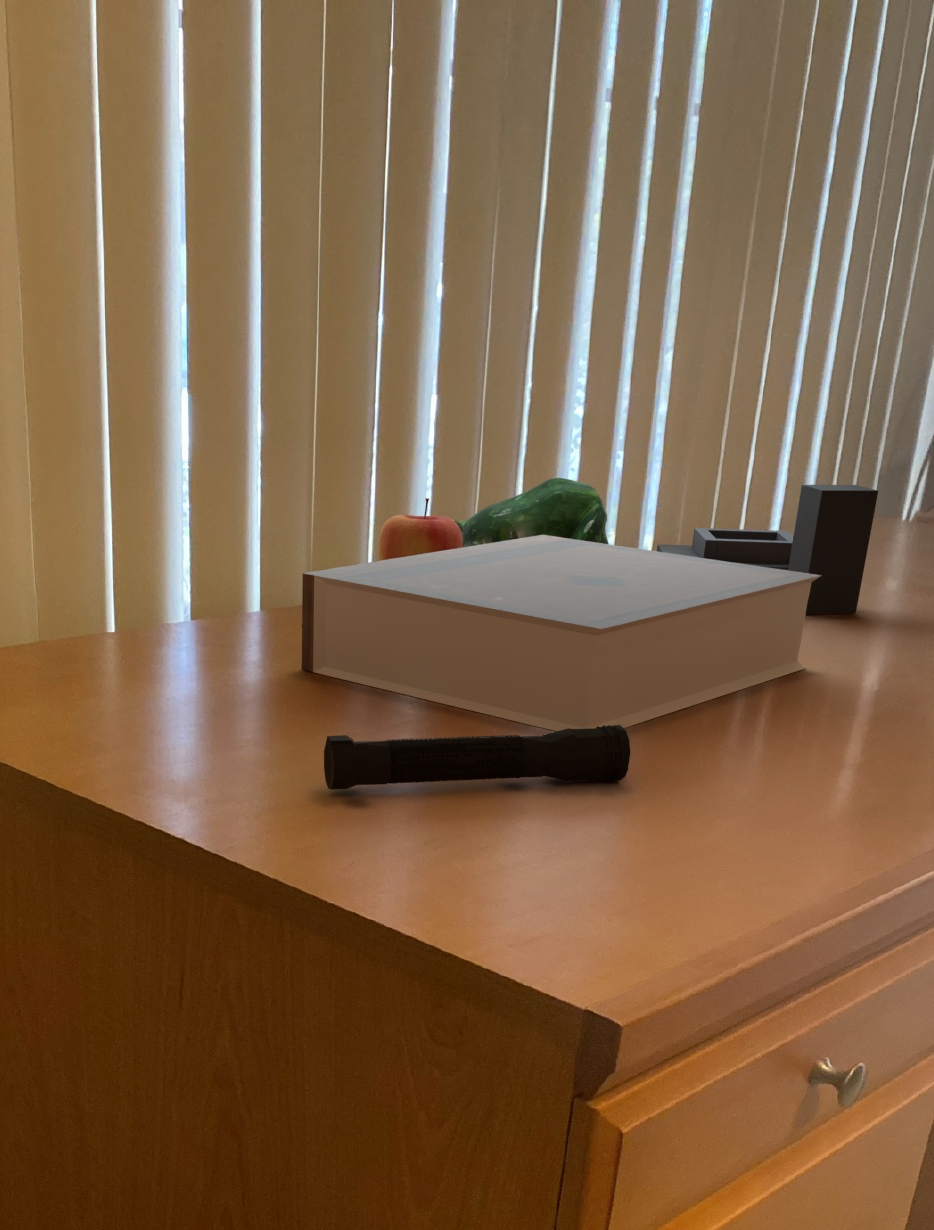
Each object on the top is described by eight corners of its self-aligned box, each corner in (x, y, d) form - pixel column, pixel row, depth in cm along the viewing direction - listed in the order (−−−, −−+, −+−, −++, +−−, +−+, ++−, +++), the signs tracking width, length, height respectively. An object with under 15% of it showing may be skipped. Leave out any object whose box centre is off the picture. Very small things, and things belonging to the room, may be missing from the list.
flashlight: (627, 787, 80) (633, 733, 78) (333, 800, 76) (334, 744, 75) (606, 771, 82) (612, 718, 81) (322, 783, 79) (323, 728, 78)
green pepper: (580, 533, 144) (433, 541, 142) (595, 448, 137) (441, 455, 135) (619, 611, 136) (463, 621, 134) (637, 524, 129) (473, 533, 127)
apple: (369, 601, 126) (372, 503, 122) (385, 586, 132) (388, 493, 128) (453, 606, 124) (458, 507, 120) (465, 591, 131) (471, 497, 127)
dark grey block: (835, 605, 129) (856, 484, 124) (856, 613, 125) (878, 490, 121) (782, 605, 128) (801, 484, 123) (801, 614, 125) (822, 490, 120)
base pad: (811, 559, 151) (816, 529, 150) (836, 579, 141) (842, 547, 139) (656, 554, 152) (659, 524, 151) (669, 573, 142) (673, 541, 140)
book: (301, 669, 103) (302, 573, 99) (535, 617, 121) (542, 534, 118) (589, 739, 88) (601, 629, 85) (806, 668, 106) (821, 575, 103)
